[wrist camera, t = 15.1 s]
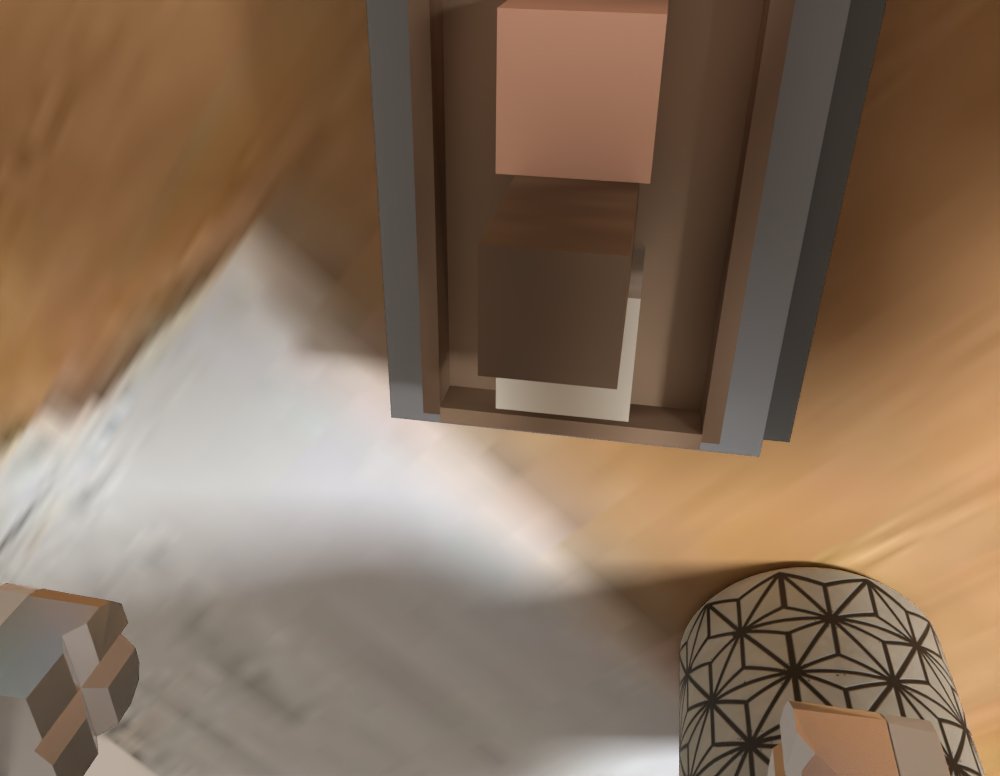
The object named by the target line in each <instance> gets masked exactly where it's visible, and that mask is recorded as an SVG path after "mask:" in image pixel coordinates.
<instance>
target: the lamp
mask: <svg viewBox="0 0 1000 776" xmlns="http://www.w3.org/2000/svg"><path fill="white" fill-rule="evenodd" d="M788 700H790V701H797V702H804V703H812V704H819V705H826V706H834V707H841V708H848V709H856V710H863V711H870V712H877V713H878V714H879V715H880V714H887V715H894V716H901V717H908V718H914V719H921V720H928V721H930V722H931V723H932V724H933V726H934V727H935V728H936V729H937V733H938V736H939V739H940V743H941V746H942V749H943V753H944V756H945V759H946V763H947V766H948V769H949V772H950V776H985V773H984V771H983V768H982V765H981V762H980V759H979V756H978V753H977V750H976V747H975V744H974V741H973V738H972V735H971V732H970V729H969V726H968V723H967V720H966V718H965V715H964V712H963V709H962V706H961V703H960V700H959V697H958V694H957V691H956V688H955V685H954V682H953V679H952V676H951V673H950V670H949V667H948V664H947V662H946V659H945V656H944V653H943V650H942V647H941V644H940V641H939V638H938V636H937V633H936V631H935V629H934V627H933V626H932V624H931V623H930V621H929V620H928V618H927V617H926V616H925V615H924V614H923V612H922V611H921V610H920V609H919V608H918V607H917V606H916V605H915V604H913V603H912V602H911V601H910V600H909V599H907V598H906V597H904V596H903V595H902V594H900V593H898V592H897V591H895V590H893V589H892V588H890V587H888V586H886V585H884V584H882V583H879V582H877V581H874V580H872V579H869V578H867V577H864V576H861V575H858V574H854V573H851V572H847V571H842V570H837V569H830V568H821V567H793V568H784V569H777V570H772V571H767V572H763V573H760V574H756V575H753V576H750V577H748V578H745V579H743V580H740V581H738V582H736V583H734V584H732V585H730V586H729V587H727V588H725V589H724V590H722V591H721V592H719V593H718V594H716V595H715V596H714V597H712V598H711V599H710V600H708V601H707V602H706V603H705V604H704V605H703V606H702V607H701V608H700V609H699V610H698V611H697V612H696V614H695V615H694V616H693V618H692V619H691V620H690V622H689V624H688V626H687V627H686V629H685V632H684V634H683V637H682V640H681V644H680V651H679V776H767V775H768V767H769V762H770V758H771V753H772V749H773V748H774V747H775V746H777V745H778V744H780V743H782V741H781V731H780V719H781V715H782V712H783V708H784V706H785V704H786V703H787V701H788Z"/></svg>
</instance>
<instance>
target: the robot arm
mask: <svg viewBox="0 0 1000 776" xmlns="http://www.w3.org/2000/svg"><path fill="white" fill-rule="evenodd" d="M127 624H128V621H127V618H126V615H125V612H124V610H123V607H122V604H120V603H117V602H113V601H108V600H103V599H97V598H92V597H86V596H80V595H75V594H69V593H63V592H58V591H52V590H47V589H39V588H33V587H27V586H21V585H15V584H9V583H6V584H4V585H2V586H0V776H84V774H85V773H86V771H87V770H88V768H89V767H90V765H91V764H92V762H93V761H94V759H95V758H96V756H97V755H98V744H97V736H98V735H100V734H101V733H103V732H105V731H106V730H108V729H109V728H111V727H113V726H114V725H116V724H118V723H119V721H120V720H121V718H122V717H123V715H124V713H125V712H126V710H127V709H128V707H129V706H130V704H131V702H132V699H133V696H134V693H135V690H136V687H137V683H138V680H139V660H138V656H137V652H136V649H135V647H134V646H133V645H132V644H131V643H130V642H129V641H128V640H127V639H126V638H125V637H124V636H123V635H122V634H121V632H122V631H123V629H124V628H125V627H126V625H127ZM780 731H781V741H782V743H780V744H778V745H777V746H775V747H774V748H773V749H772V753H771V758H770V762H769V767H768V775H767V776H950V772H949V769H948V766H947V763H946V759H945V756H944V753H943V749H942V746H941V743H940V739H939V736H938V733H937V729H936V728H935V727H934V726H933V724H932V723H931V722H930V721H928V720H921V719H914V718H908V717H901V716H894V715H887V714H880V715H879V714H878V713H877V712H870V711H863V710H856V709H848V708H841V707H834V706H826V705H819V704H812V703H804V702H797V701H790V700H788V701H787V703H786V704H785V706H784V708H783V712H782V715H781V719H780Z"/></svg>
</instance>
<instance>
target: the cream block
mask: <svg viewBox="0 0 1000 776" xmlns="http://www.w3.org/2000/svg"><path fill="white" fill-rule="evenodd" d="M644 256H645V246H642V245H634V250H633V258H632V267H631V275H630V284H629V292H628V301H627V309H626V318H625V326H624V335H623V343H622V352H621V360H620V369H619V377H618V386H617V389H607V388H597V387H586V386H576V385H566V384H556V383H546V382H536V381H526V380H516V379H506V378H496V408H497V409H507V410H517V411H527V412H536V413H546V414H556V415H566V416H576V417H586V418H596V419H606V420H615V421H625V422H628V421H629V411H630V401H631V391H632V381H633V371H634V361H635V351H636V341H637V331H638V321H639V311H640V302H641V290H642V279H643V268H644Z"/></svg>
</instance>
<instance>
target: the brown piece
mask: <svg viewBox="0 0 1000 776" xmlns="http://www.w3.org/2000/svg"><path fill="white" fill-rule="evenodd" d="M506 1H507V0H408V25H409V51H410V77H411V103H412V129H413V156H414V182H415V208H416V234H417V260H418V286H419V312H420V339H421V365H422V391H423V413H429V414H438V415H440V422H445V423H454V424H463V425H472V426H482V427H491V428H500V429H510V430H519V431H528V432H538V433H547V434H556V435H566V436H575V437H584V438H594V439H603V440H612V441H622V442H631V443H640V444H650V445H659V446H668V447H677V448H687V449H696V450H700V445H701V442H702V443H711V444H720V438H721V432H722V427H723V421H724V415H725V409H726V403H727V397H728V391H729V386H730V380H731V374H732V368H733V362H734V356H735V350H736V345H737V339H738V333H739V327H740V321H741V315H742V309H743V304H744V298H745V292H746V286H747V280H748V274H749V268H750V263H751V257H752V251H753V245H754V239H755V233H756V227H757V222H758V216H759V210H760V204H761V198H762V192H763V187H764V181H765V175H766V169H767V163H768V157H769V151H770V146H771V140H772V134H773V128H774V122H775V116H776V110H777V105H778V99H779V93H780V87H781V81H782V75H783V69H784V64H785V58H786V52H787V46H788V40H789V34H790V28H791V23H792V17H793V11H794V5H795V0H669V1H668V14H667V24H666V34H665V43H664V53H663V63H662V73H661V82H660V92H659V102H658V112H657V122H656V131H655V141H654V151H653V161H652V170H651V180H650V184H647V183H632V182H616V181H601V180H585V179H570V178H554V177H539V176H524V175H508V174H496V78H497V8H498V7H499V6H500V5H502V4H503V3H504V2H506ZM634 245H642V246H645V256H644V268H643V279H642V290H641V302H640V311H639V321H638V331H637V341H636V351H635V361H634V371H633V381H632V391H631V401H630V411H629V421H628V422H625V421H615V420H606V419H596V418H586V417H576V416H566V415H556V414H546V413H536V412H527V411H517V410H507V409H497V408H496V378H506V379H516V380H526V381H536V382H546V383H556V384H566V385H576V386H586V387H597V388H607V389H617V386H618V377H619V369H620V360H621V352H622V343H623V335H624V326H625V318H626V309H627V301H628V292H629V284H630V275H631V267H632V258H633V250H634Z"/></svg>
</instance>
